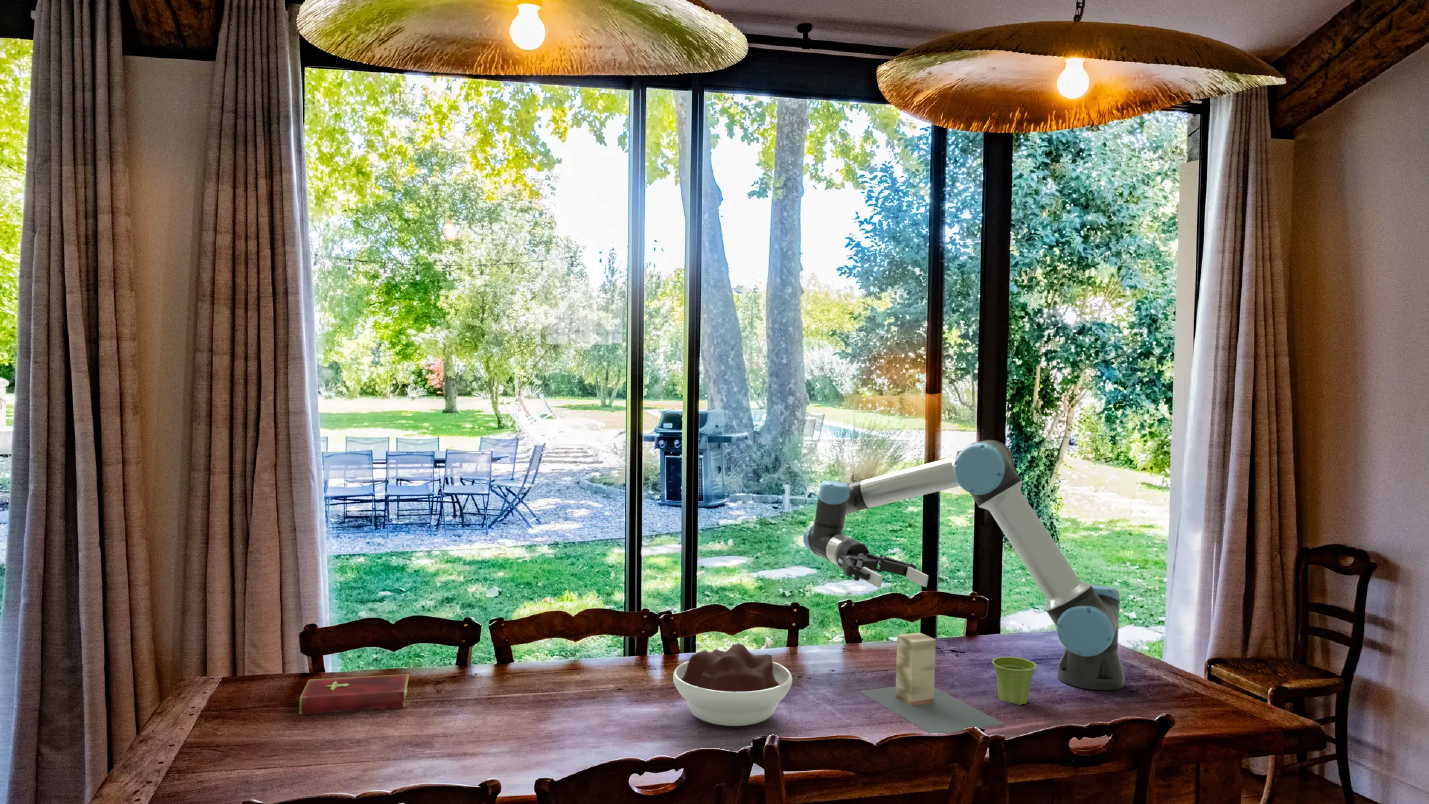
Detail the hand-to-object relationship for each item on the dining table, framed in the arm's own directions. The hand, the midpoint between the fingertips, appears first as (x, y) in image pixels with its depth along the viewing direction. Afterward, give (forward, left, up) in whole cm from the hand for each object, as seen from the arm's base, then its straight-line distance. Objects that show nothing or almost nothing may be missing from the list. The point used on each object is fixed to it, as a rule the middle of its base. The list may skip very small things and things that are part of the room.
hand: (903, 581), depth 222 cm
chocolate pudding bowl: (+18, +39, -26) cm, 50 cm away
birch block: (-6, +4, -25) cm, 26 cm away
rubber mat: (-10, +6, -25) cm, 28 cm away
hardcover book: (+83, +87, -26) cm, 123 cm away
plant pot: (-22, -12, -26) cm, 36 cm away
